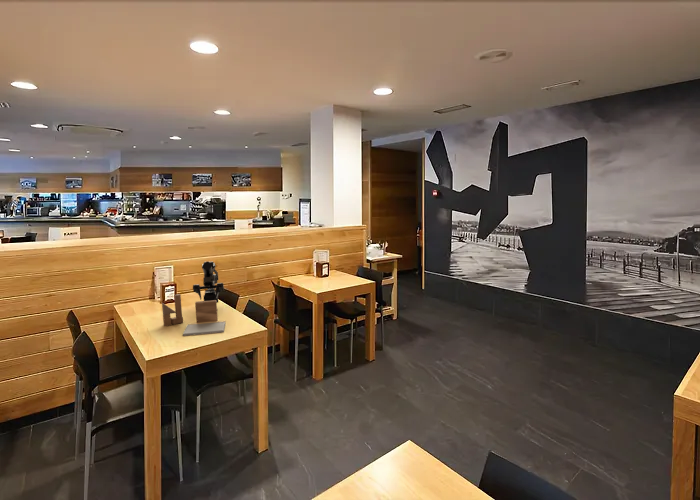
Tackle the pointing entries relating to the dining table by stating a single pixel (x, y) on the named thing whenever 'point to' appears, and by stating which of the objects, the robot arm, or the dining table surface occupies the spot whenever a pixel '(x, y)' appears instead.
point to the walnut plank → (206, 311)
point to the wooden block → (168, 311)
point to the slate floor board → (204, 328)
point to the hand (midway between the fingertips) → (208, 298)
